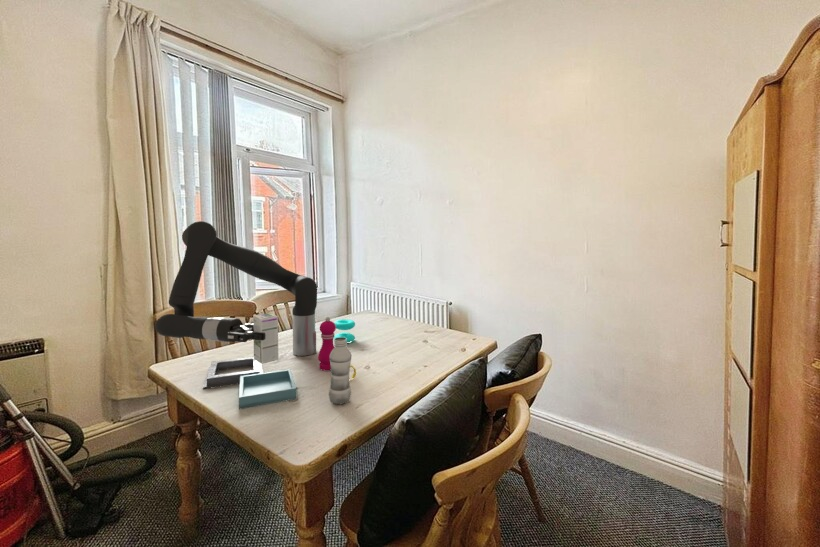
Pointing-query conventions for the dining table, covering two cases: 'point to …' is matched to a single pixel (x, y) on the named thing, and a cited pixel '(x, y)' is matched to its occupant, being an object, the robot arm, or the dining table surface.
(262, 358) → the syrup box
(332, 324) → the pepper mill
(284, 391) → the tray
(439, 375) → the dining table surface
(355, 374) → the watch
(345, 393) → the plastic bottle
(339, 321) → the donuts
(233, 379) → the metal socket
